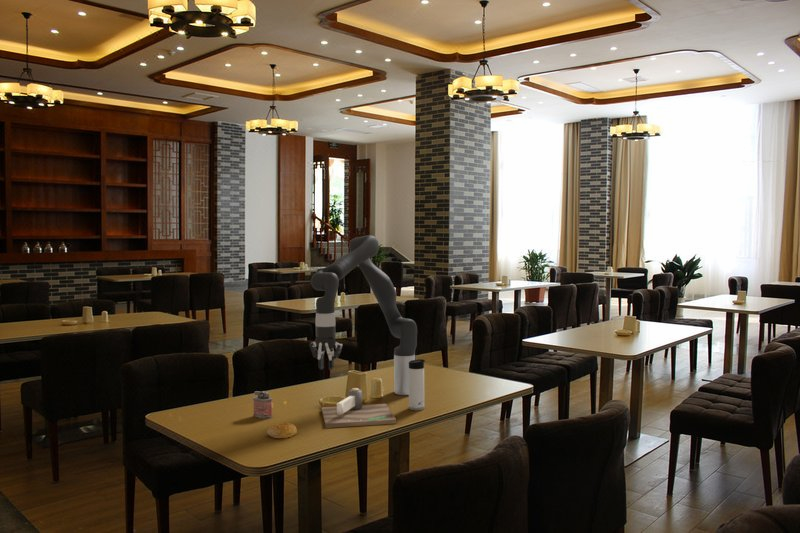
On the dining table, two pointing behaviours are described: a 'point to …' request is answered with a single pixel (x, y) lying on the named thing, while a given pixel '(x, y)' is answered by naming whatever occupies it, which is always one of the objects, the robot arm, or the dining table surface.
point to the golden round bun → (282, 430)
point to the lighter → (262, 405)
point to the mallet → (350, 401)
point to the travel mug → (416, 384)
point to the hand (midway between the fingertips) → (326, 369)
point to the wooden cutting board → (358, 416)
